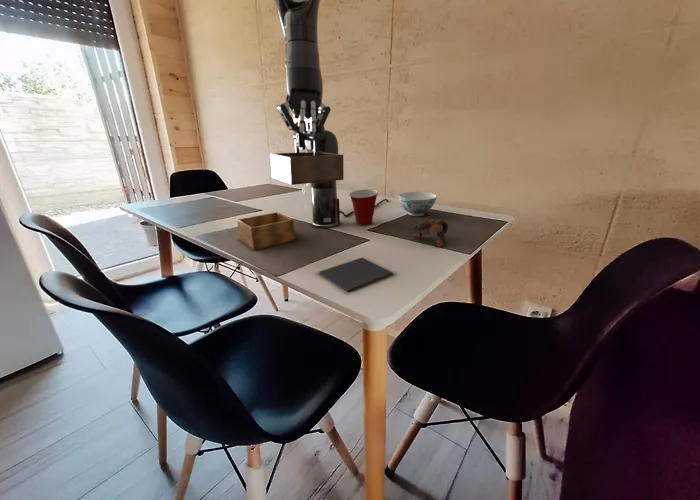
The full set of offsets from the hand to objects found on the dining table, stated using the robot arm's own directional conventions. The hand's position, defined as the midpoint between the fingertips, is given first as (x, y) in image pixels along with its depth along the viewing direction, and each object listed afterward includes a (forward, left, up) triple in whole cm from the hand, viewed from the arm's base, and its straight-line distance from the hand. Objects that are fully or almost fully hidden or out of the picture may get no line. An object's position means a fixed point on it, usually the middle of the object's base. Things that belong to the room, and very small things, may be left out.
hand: (306, 149), depth 76 cm
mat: (-4, +15, -29) cm, 33 cm away
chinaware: (-58, -13, -30) cm, 66 cm away
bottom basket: (+3, -23, -29) cm, 38 cm away
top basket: (0, 0, -7) cm, 7 cm away
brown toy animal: (-37, +12, -30) cm, 49 cm away
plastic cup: (-33, -17, -30) cm, 47 cm away
